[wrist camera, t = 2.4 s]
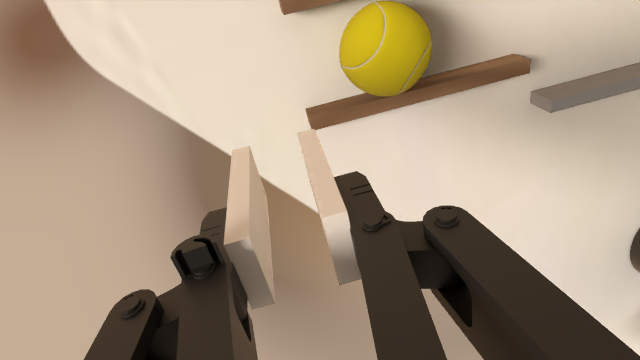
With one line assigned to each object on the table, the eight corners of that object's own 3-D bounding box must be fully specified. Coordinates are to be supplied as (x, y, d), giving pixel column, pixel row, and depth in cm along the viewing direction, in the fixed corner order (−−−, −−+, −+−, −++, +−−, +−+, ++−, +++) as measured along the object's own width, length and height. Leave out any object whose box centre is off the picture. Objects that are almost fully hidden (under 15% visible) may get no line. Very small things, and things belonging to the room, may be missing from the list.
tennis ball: (426, 24, 34) (465, 36, 28) (384, 95, 36) (411, 121, 30) (358, -19, 31) (385, -16, 25) (318, 61, 34) (333, 82, 28)
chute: (513, 66, 37) (529, 72, 35) (308, 120, 36) (312, 130, 34) (518, -66, 31) (538, -68, 29) (277, -5, 31) (279, -3, 28)
